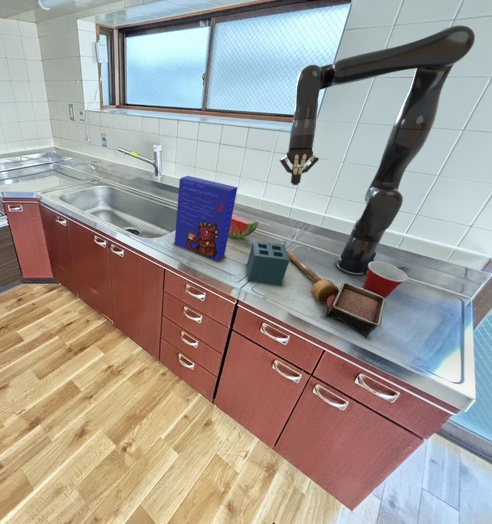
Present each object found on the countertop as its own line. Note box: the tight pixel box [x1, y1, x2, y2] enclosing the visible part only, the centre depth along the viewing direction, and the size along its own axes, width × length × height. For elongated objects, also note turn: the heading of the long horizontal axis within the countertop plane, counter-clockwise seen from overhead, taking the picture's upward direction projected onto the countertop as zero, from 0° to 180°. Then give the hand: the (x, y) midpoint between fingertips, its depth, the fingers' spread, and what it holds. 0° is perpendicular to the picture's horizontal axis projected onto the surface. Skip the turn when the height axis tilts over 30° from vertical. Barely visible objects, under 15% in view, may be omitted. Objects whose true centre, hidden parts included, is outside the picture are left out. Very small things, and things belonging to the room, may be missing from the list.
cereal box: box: [174, 175, 238, 263], centre depth 117 cm, size 22×6×30 cm, turn 48°
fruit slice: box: [228, 213, 259, 239], centre depth 137 cm, size 26×6×10 cm, turn 38°
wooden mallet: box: [286, 250, 340, 304], centre depth 108 cm, size 8×7×33 cm
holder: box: [246, 240, 291, 287], centre depth 107 cm, size 11×11×11 cm
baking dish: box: [324, 282, 386, 339], centre depth 87 cm, size 14×18×10 cm
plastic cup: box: [362, 260, 409, 300], centre depth 95 cm, size 11×11×12 cm
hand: (295, 184), depth 106 cm, fingers closed
